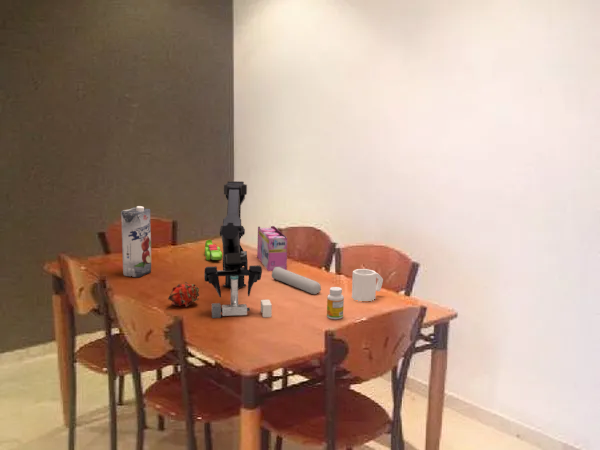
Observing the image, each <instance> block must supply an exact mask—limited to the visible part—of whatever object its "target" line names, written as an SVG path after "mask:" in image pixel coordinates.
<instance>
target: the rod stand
mask: <svg viewBox="0 0 600 450" xmlns="http://www.w3.org/2000/svg"><path fill="white" fill-rule="evenodd" d="M250 311H251V309H250V307H247V312H250ZM211 318H212V319H220V318H222V305H221V302H215V303H211Z"/></svg>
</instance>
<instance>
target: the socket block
mask: <svg viewBox="0 0 600 450" xmlns="http://www.w3.org/2000/svg"><path fill="white" fill-rule="evenodd" d="M272 306H273V304H272V302H271V300H270V299H260V313H261V314H262V318H272V313H273V312H272V309H273V307H272Z"/></svg>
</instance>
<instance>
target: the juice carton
mask: <svg viewBox="0 0 600 450" xmlns="http://www.w3.org/2000/svg"><path fill="white" fill-rule="evenodd" d="M151 211H152V210H151V208H145V207H144V206H141V205H137V206H136V207H132V208H131V207H130V209H123V210H121V211H120V217H121V218H120V219H121V247H122V249H121V250H122V253H121V254H122V271H123V272H122V273H123V276H124V277H131V276H132V277H133V278H141V277H143V276H145V274H146V275H148V274H150V273H152V237H151V236H152V234H151V233H152V232H151V229H152V227H151Z"/></svg>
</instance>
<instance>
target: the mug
mask: <svg viewBox="0 0 600 450" xmlns="http://www.w3.org/2000/svg"><path fill="white" fill-rule="evenodd" d="M351 279H352V281H351V299H352V298H353V299H354V300H353V299H352V300H353V301H355V300H358V301H357V302H359V301H371V302H373V301H375V300H376V292H381V290H382V289H381V288H382V286H383V281H384V279H383V277H382V276H381V275H380V274H379V273H378V272H376V271H375V270H373V269H369V268H357V269H354V270H353V271H352V278H351ZM374 299H375V300H374ZM372 300H373V301H372Z"/></svg>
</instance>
